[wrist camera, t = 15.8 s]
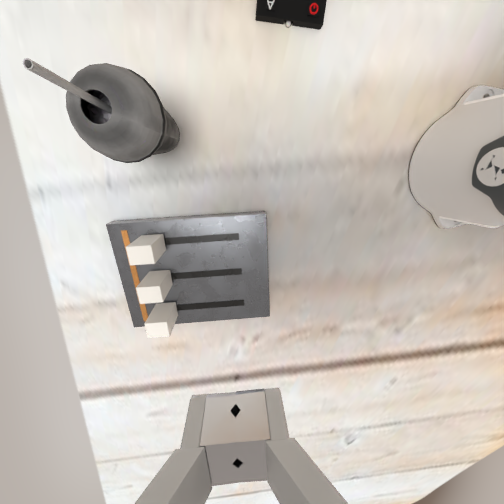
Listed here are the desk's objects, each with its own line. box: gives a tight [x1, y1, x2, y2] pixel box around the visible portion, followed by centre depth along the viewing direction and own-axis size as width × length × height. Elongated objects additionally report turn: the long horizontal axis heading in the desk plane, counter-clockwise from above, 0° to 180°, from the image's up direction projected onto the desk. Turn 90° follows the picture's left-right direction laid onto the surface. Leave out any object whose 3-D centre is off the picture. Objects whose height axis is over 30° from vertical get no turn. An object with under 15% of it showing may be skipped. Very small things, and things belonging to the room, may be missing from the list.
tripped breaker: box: [144, 302, 178, 338], centre depth 35 cm, size 3×2×5 cm
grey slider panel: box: [106, 211, 270, 327], centre depth 37 cm, size 22×17×2 cm
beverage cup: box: [23, 58, 180, 163], centre depth 22 cm, size 7×7×20 cm
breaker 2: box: [136, 270, 173, 304], centre depth 33 cm, size 3×2×5 cm
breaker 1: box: [126, 234, 166, 265], centre depth 31 cm, size 3×2×5 cm
